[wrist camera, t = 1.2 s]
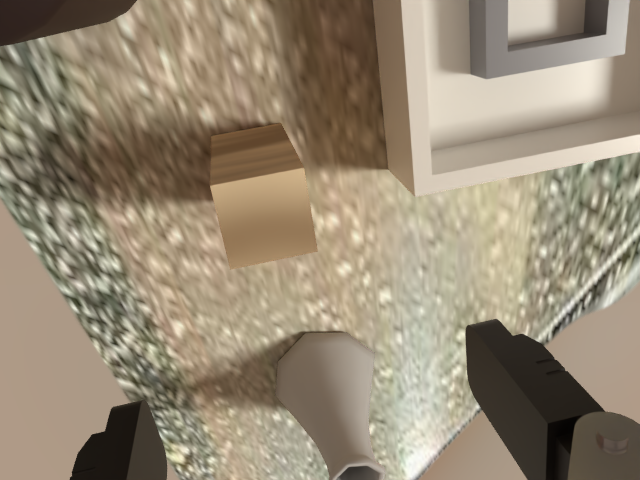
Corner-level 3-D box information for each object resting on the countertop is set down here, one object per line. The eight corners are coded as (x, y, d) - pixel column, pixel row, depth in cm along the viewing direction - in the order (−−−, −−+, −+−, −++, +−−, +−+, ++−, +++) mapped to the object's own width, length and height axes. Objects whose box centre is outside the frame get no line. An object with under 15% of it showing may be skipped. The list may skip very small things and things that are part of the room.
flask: (298, 316, 37) (325, 420, 28) (390, 343, 39) (443, 447, 30) (258, 399, 39) (271, 520, 30) (347, 420, 41) (384, 539, 32)
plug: (211, 135, 31) (209, 185, 23) (280, 123, 31) (304, 167, 23) (226, 201, 32) (230, 269, 24) (292, 188, 33) (317, 251, 25)
